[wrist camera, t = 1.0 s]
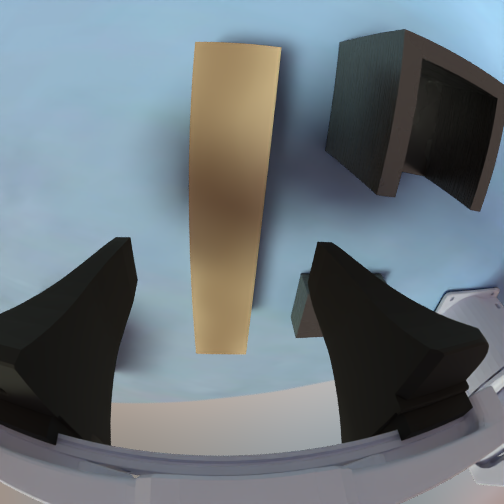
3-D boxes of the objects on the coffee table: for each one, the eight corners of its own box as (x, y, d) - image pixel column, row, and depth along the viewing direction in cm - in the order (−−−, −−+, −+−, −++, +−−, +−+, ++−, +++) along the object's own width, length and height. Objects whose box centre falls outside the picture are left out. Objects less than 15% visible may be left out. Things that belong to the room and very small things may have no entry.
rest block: (380, 273, 19) (392, 292, 18) (363, 314, 21) (372, 332, 20) (301, 273, 19) (308, 294, 17) (290, 317, 21) (295, 337, 19)
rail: (266, 56, 12) (281, 47, 8) (241, 308, 20) (245, 354, 17) (203, 52, 11) (195, 42, 8) (199, 307, 20) (196, 353, 17)
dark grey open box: (432, 73, 12) (509, 88, 7) (415, 166, 15) (479, 211, 10) (339, 42, 11) (404, 29, 6) (325, 150, 14) (376, 194, 9)
